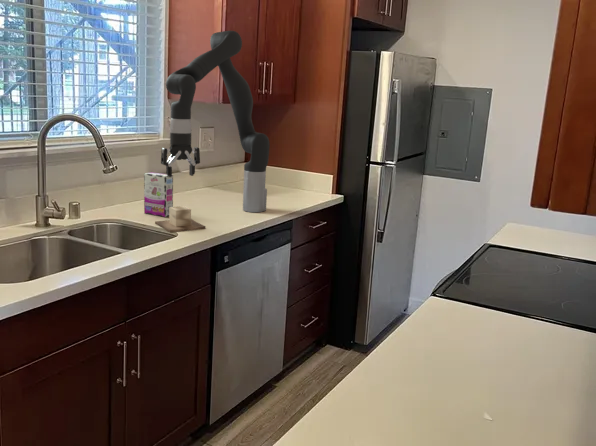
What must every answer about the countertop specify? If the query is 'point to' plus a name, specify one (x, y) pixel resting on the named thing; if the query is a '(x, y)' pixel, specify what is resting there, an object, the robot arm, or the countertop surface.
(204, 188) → the countertop surface
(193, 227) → the walnut board
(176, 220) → the maple cube
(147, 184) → the candy bar box
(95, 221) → the countertop surface
